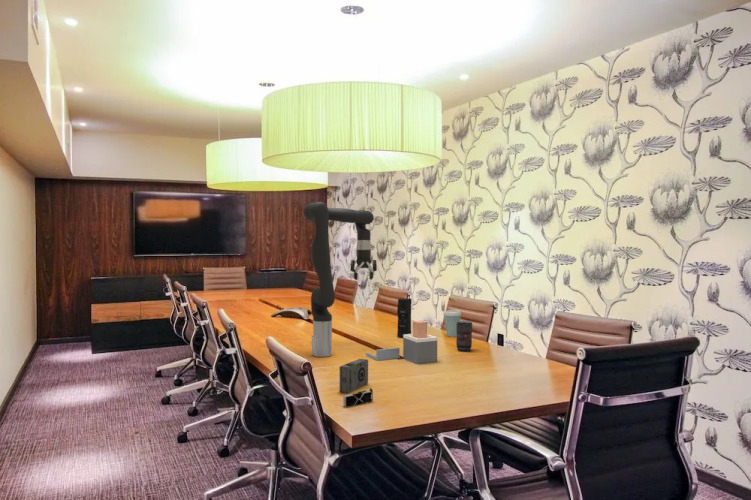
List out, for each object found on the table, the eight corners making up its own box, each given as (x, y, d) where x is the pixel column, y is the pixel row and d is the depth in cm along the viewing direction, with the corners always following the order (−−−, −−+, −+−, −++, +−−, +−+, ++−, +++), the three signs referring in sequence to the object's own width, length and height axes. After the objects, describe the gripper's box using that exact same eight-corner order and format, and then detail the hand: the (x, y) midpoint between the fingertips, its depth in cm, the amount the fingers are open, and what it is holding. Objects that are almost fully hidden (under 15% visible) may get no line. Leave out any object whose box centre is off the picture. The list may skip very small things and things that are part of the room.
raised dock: (417, 364, 247) (417, 339, 247) (403, 358, 259) (403, 334, 258) (437, 361, 252) (437, 337, 252) (422, 356, 264) (422, 332, 263)
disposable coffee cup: (457, 338, 311) (457, 312, 311) (440, 336, 317) (440, 311, 317) (464, 335, 320) (464, 310, 320) (447, 333, 326) (447, 309, 326)
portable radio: (395, 337, 313) (395, 294, 313) (399, 335, 319) (399, 293, 318) (407, 338, 310) (407, 295, 309) (411, 337, 315) (412, 294, 315)
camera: (346, 394, 199) (346, 367, 199) (337, 392, 201) (337, 366, 201) (368, 384, 213) (368, 358, 213) (359, 382, 215) (360, 357, 215)
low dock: (377, 360, 254) (377, 350, 253) (366, 355, 265) (366, 345, 264) (399, 358, 259) (399, 347, 259) (387, 353, 270) (387, 343, 270)
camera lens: (473, 352, 274) (473, 322, 273) (457, 352, 273) (457, 322, 273) (470, 348, 282) (470, 320, 281) (455, 348, 282) (455, 320, 281)
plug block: (418, 339, 252) (418, 322, 252) (412, 338, 256) (412, 321, 256) (427, 338, 254) (427, 322, 254) (421, 337, 258) (421, 320, 258)
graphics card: (371, 402, 192) (369, 387, 192) (375, 401, 189) (373, 387, 190) (343, 407, 185) (341, 393, 186) (347, 407, 183) (345, 392, 184)
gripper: (354, 249, 276) (354, 280, 277) (379, 249, 283) (378, 279, 283) (348, 248, 283) (348, 279, 283) (372, 248, 289) (372, 278, 290)
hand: (363, 279), depth 283 cm, fingers open, 8 cm apart
